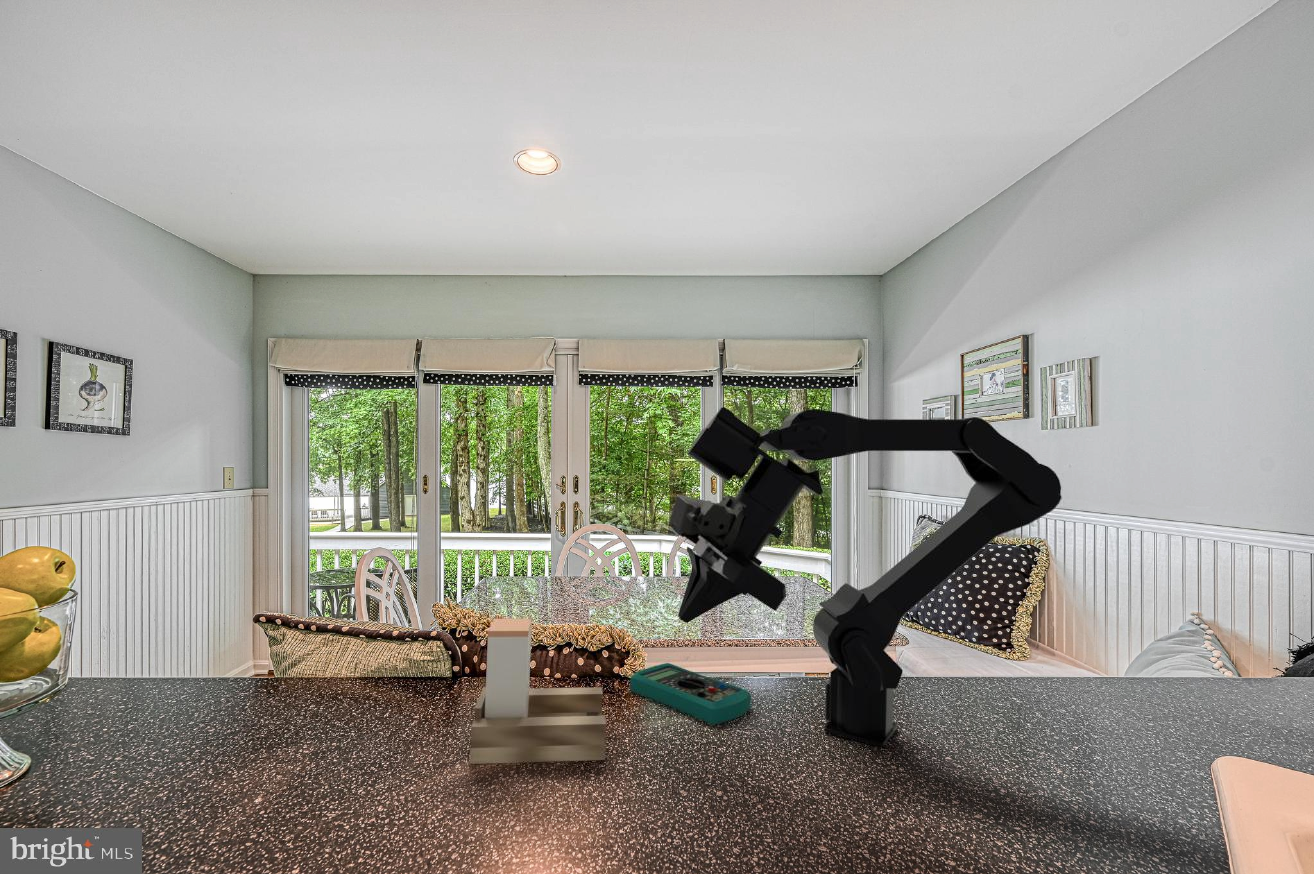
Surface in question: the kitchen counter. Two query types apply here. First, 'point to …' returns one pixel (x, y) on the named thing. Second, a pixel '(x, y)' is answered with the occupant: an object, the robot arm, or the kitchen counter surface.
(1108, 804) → the kitchen counter surface
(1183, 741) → the kitchen counter surface
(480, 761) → the open taupe tray
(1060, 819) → the kitchen counter surface
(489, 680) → the switch tab
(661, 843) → the kitchen counter surface
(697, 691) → the digital multimeter
